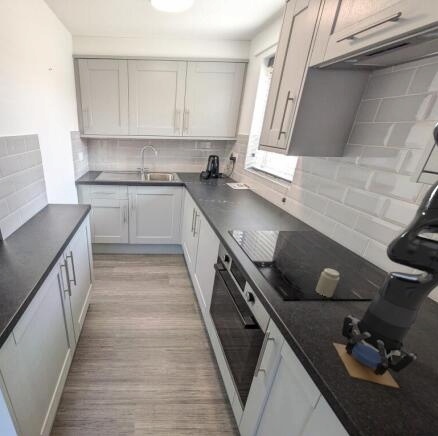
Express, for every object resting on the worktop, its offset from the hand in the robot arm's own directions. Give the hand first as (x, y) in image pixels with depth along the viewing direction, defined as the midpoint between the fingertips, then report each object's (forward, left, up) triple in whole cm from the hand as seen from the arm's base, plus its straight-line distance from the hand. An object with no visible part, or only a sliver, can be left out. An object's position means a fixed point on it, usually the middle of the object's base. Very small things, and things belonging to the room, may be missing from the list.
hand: (362, 362), depth 61 cm
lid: (0, 0, +3) cm, 3 cm away
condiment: (-8, -9, -1) cm, 12 cm away
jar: (-2, -30, 0) cm, 31 cm away
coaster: (0, 0, 0) cm, 0 cm away
